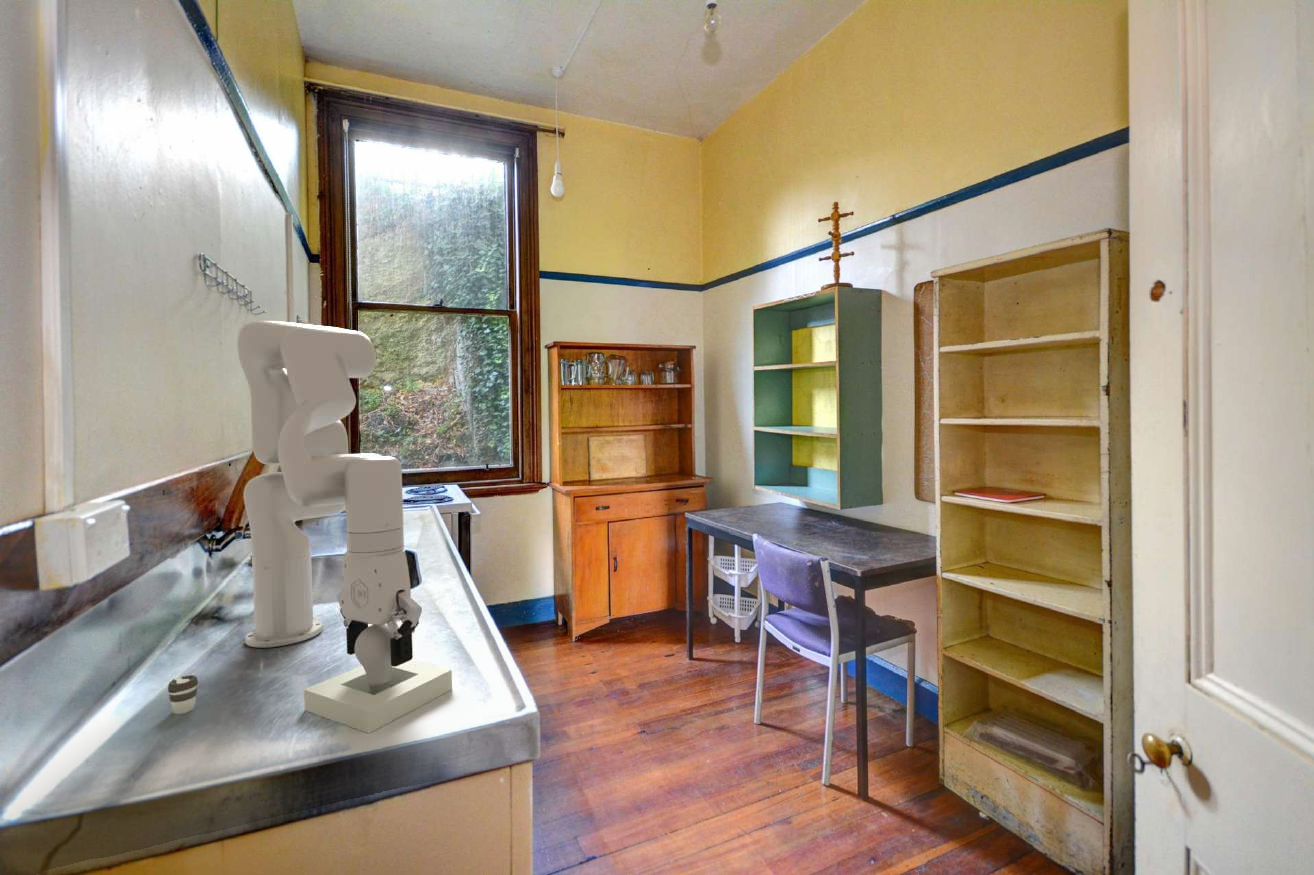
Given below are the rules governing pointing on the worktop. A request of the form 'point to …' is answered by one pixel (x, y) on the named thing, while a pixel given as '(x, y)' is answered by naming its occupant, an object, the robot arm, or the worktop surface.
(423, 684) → the socket block
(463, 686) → the worktop surface
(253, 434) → the robot arm
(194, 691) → the coffee cup
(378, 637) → the lightbulb
